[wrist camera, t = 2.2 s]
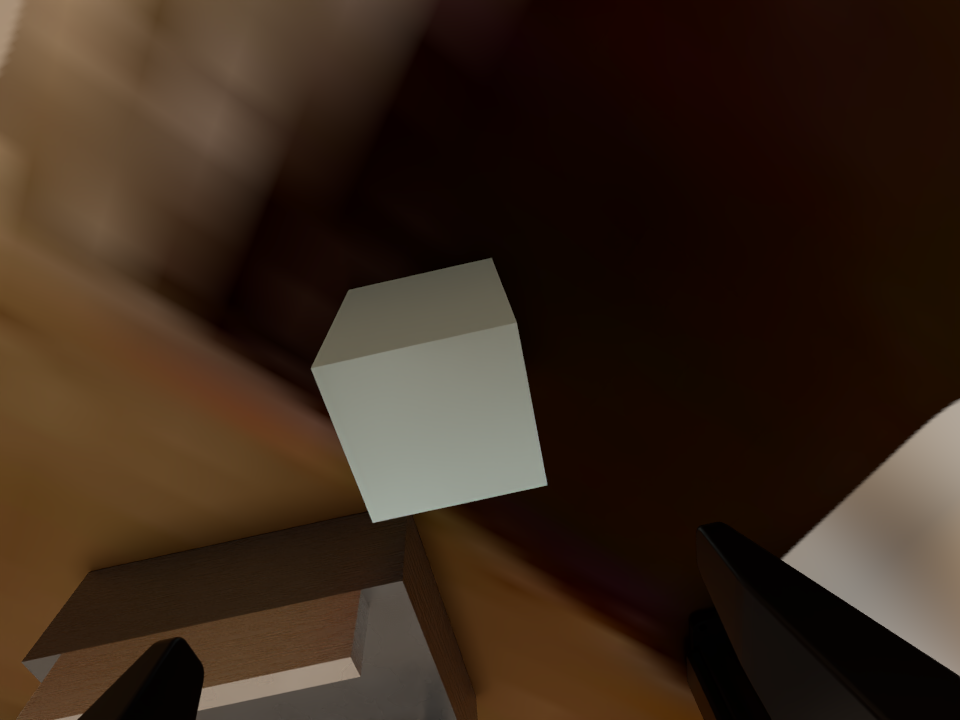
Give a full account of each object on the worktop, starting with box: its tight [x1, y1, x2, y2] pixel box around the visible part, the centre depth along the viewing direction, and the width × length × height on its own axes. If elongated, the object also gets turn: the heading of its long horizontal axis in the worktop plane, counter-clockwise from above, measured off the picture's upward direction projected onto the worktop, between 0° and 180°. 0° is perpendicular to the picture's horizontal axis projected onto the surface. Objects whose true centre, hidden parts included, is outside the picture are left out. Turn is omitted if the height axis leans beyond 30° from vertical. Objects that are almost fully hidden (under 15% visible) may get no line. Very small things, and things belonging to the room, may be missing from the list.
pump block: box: [311, 258, 547, 523], centre depth 16 cm, size 5×5×6 cm
